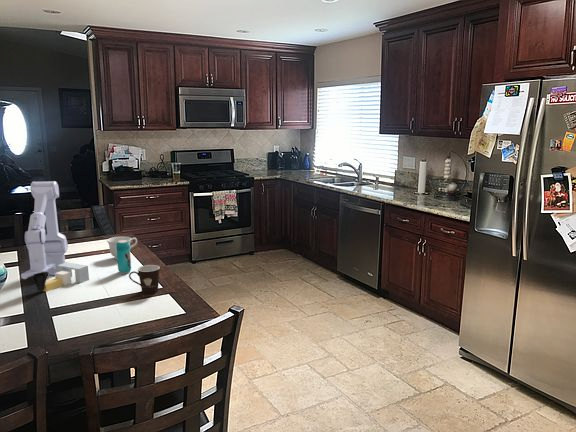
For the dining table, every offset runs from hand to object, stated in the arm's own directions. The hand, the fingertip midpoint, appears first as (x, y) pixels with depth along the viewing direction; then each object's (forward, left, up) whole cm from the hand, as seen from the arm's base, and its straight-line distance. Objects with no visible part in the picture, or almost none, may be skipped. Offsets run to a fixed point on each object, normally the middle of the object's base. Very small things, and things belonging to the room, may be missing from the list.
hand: (41, 290), depth 193 cm
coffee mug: (+39, +19, -1) cm, 43 cm away
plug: (0, +7, -1) cm, 7 cm away
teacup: (-3, +51, -1) cm, 52 cm away
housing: (0, +17, -1) cm, 17 cm away
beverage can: (+14, +34, -1) cm, 37 cm away
